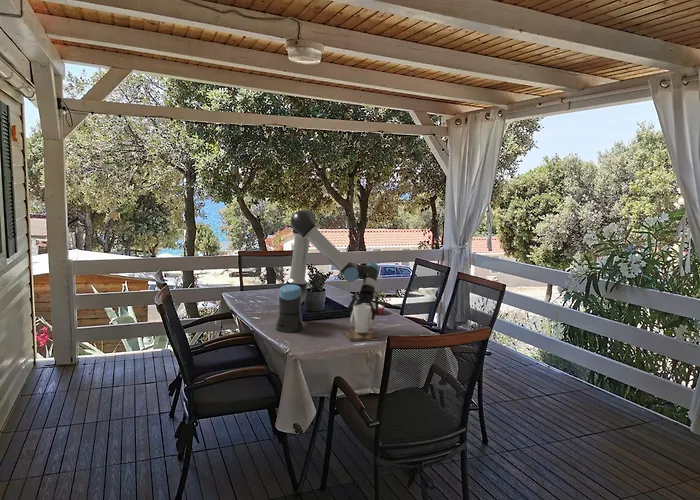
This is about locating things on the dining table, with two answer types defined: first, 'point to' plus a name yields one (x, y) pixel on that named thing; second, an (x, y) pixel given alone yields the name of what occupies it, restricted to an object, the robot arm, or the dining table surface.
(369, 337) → the walnut board
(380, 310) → the frying pan
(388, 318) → the dining table surface
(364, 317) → the foam cup
